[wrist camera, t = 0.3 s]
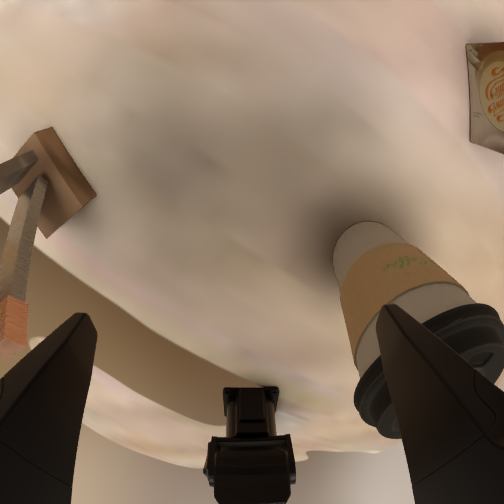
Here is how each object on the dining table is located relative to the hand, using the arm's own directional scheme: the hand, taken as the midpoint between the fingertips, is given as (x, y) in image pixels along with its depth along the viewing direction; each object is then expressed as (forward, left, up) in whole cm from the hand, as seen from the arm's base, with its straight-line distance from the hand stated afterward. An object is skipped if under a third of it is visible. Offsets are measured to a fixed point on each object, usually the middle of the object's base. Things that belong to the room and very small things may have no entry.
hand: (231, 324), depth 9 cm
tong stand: (+1, +15, -15) cm, 21 cm away
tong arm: (+1, +15, -12) cm, 20 cm away
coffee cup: (-6, -11, -15) cm, 19 cm away
